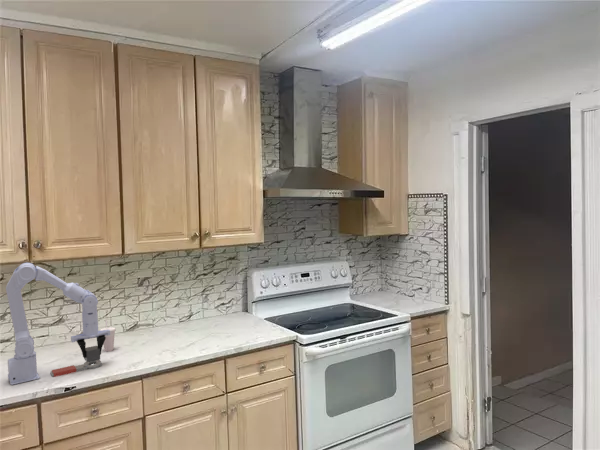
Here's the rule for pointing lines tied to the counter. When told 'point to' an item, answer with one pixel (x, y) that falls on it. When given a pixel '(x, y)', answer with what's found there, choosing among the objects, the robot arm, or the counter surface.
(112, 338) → the smoothie
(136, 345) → the counter surface
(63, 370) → the ratchet
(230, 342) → the counter surface
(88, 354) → the charcoal grey cube
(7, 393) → the counter surface
